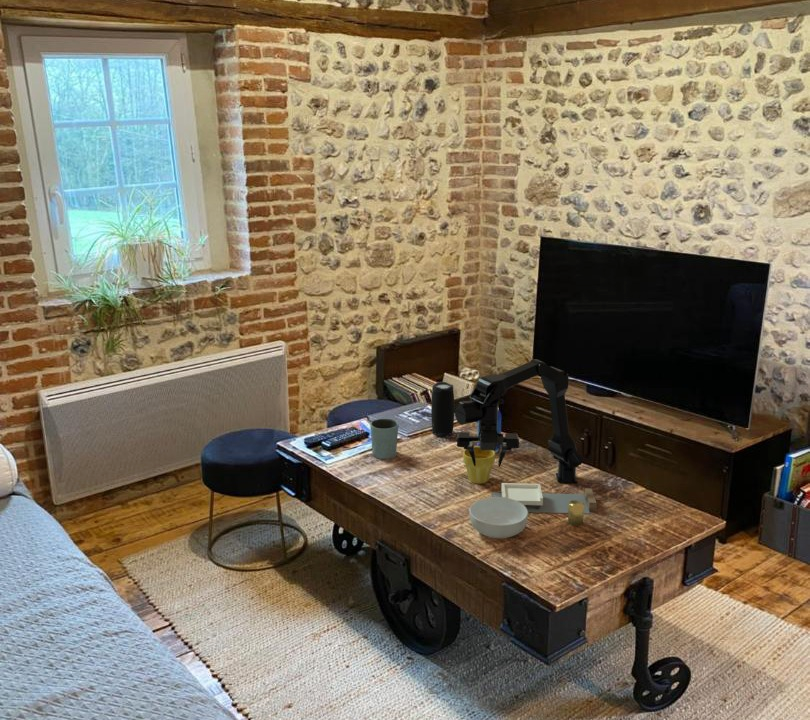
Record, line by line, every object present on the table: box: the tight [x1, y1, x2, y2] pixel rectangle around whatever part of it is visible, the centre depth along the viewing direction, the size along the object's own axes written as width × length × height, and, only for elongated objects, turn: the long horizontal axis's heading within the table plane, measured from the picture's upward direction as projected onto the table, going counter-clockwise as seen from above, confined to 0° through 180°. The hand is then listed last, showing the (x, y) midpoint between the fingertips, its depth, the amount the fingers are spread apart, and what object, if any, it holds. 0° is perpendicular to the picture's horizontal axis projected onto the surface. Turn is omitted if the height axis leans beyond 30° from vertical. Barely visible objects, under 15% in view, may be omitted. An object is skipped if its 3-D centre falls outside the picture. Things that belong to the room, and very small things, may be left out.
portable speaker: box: [430, 381, 455, 438], centre depth 302 cm, size 9×9×20 cm
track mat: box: [491, 491, 591, 515], centre depth 249 cm, size 13×29×1 cm, turn 86°
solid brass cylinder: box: [567, 501, 585, 527], centre depth 236 cm, size 4×4×6 cm
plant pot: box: [462, 445, 496, 485], centre depth 264 cm, size 10×10×10 cm
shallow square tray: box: [500, 482, 543, 509], centre depth 248 cm, size 10×12×4 cm
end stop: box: [584, 487, 597, 513], centre depth 247 cm, size 10×2×3 cm, turn 176°
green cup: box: [369, 417, 399, 460], centre depth 284 cm, size 10×10×12 cm
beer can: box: [476, 407, 502, 454], centre depth 287 cm, size 8×8×16 cm
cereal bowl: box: [468, 496, 529, 539], centre depth 230 cm, size 17×17×7 cm
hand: (486, 466), depth 246 cm, fingers open, 7 cm apart
